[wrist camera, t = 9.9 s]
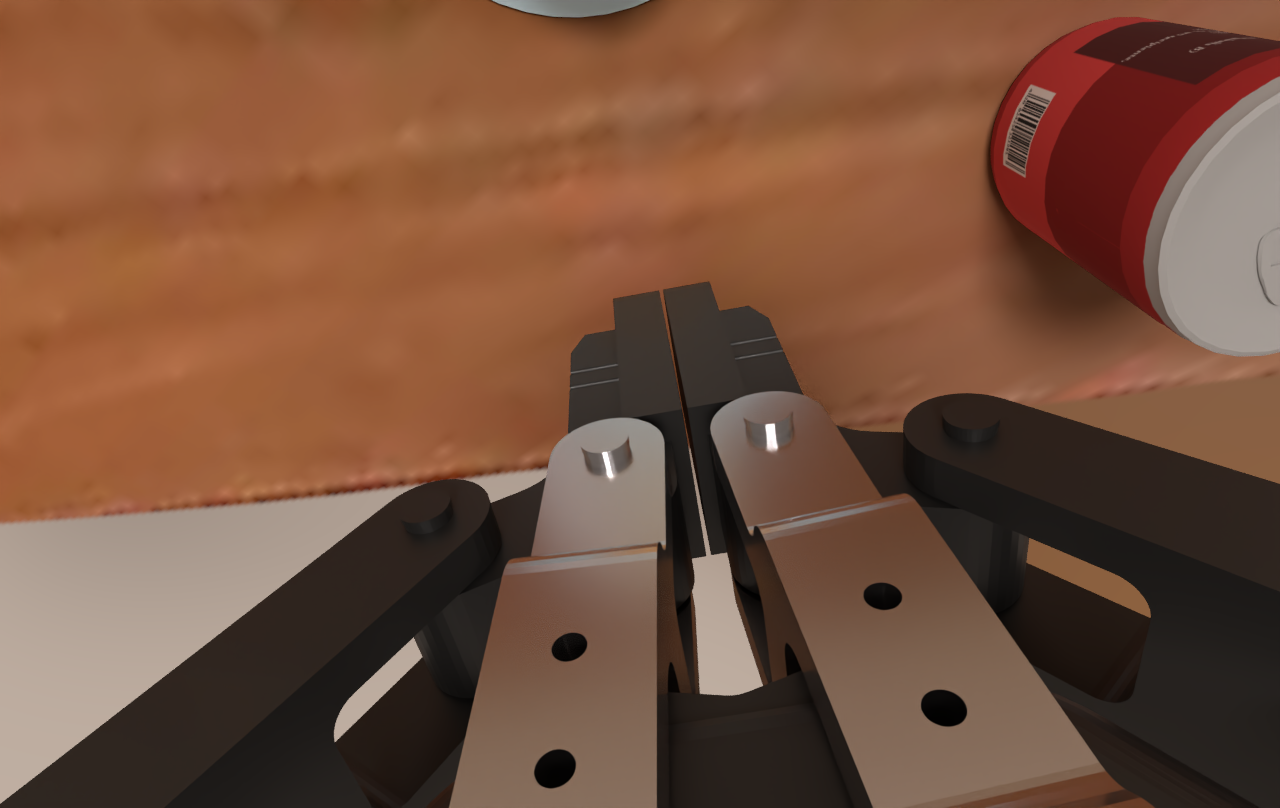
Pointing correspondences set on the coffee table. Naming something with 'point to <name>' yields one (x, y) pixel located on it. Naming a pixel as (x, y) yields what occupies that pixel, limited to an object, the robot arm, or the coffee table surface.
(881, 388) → the coffee table surface
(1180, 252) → the canned food
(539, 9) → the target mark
